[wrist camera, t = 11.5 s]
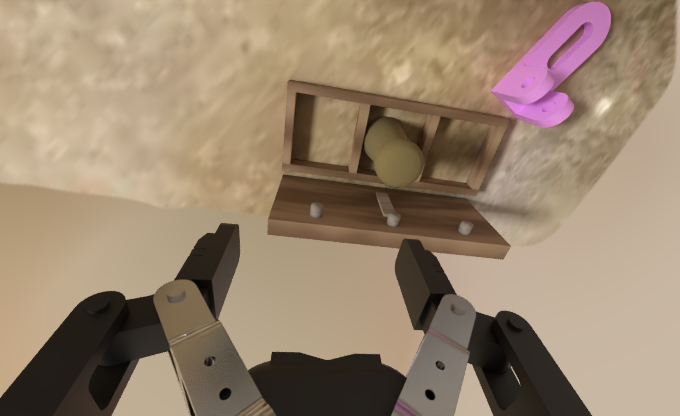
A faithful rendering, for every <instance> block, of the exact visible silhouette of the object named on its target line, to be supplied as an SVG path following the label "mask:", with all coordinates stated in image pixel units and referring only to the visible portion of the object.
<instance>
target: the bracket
mask: <svg viewBox="0 0 680 416" xmlns="http://www.w3.org/2000/svg"><path fill="white" fill-rule="evenodd" d="M582 24H583V25H584V33H583V35H582V36H581V38H580V39H579V40H578V41H577V42H576V43H575V44H574V45H573V46H572V47H571V48H570V49H569V50H568V51H567V52H566V53H565V54H564V55H562V56H561V57H560V58H559V59H558V60H557V61H556V62H555V63H554V64H553V65H552V66H551V67H550V68H548V66H547V62H548V59H549V58H550V56H551V55H552V54H553V53H554V52H555V51H556V50H557V49H558V48H559V47H560V46H561V45H562V44H563V43H564V42H565V41H566V40H567V39H568V38H569V37H570V36H571V35H572V34H573V33H574V32H575V31H576V30H577V29H578V28H579V27H580V26H581V25H582ZM610 24H611V14H610V11H609V9H608V7H607V6H606V5H605V4H603V3H601V2H589V3H583V4H579V5H577V6H574V7H573V8H571V9H570V10H568V11H567V12H566V13H565V14H564V15H563V16H562V17H561V18H560V19H559V20H558V21H557V22H556V23H555V24H554V25H553V26H552V28H551V29H550V30H549V31H548V32H547V33H546V34H545V35H544V36H543V37H542V38H541V39H540V40H539V41H538V42H537V43H536V44H535V45H534V46H533V47H532V48H531V49H530V51H529V52H528V53H527V54H526V55H525V56H524V57H523V58H522V59H521V60H520V61H519V62H518V63H517V64H516V65H515V66H514V67H513V68H512V69H511V70H510V71H509V73H508V74H507V75H506V76H505V77H504V78H503V79H502V80H501V81H500V82H499V83H498V84H497V85H496V86H495V87H494V88H493V89H492V90H491V92H492V93H493V94H494V95H495V96H496V97H497V98H498V99H499V100H500V101H501V103H502V104H503V105H504V106H505V107H506V108H507V109H508V110H509V111H510V112H511V114H512V115H513V116H514V117H515V118H516V119H519V120H522V121H525V122H527V123H530V124H533V125H536V126H539V127H542V128H548V127H552V126H555V125H557V124H559V123H561V122H562V121H564V120H565V119H566V118H567V117H569V115H570V114H571V113H572V112H573V110H574V103H573V102H572V101H571V100H570V98H569V97H568V96H567V94H565V93H560V92H555V91H553V90H554V89H555V88H556V87H557V86H558V85H559V84H561V83H562V82H563V81H564V80H565V79H566V78H567V77H568V76H569V75H570V74H571V73H572V72H573V71H574V70H575V69H576V68H577V67H578V66H579V65H581V64H582V63H583V62H584V61H585V60H586V59H587V58H588V57H589V56H590V55H591V54H592V53H593V52H594V51H595V50H596V49H597V48H598V47H599V46H600V45H601V44H602V42H603V41H604V39H605V38H606V36H607V34H608V31H609V28H610Z"/></svg>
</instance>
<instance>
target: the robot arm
mask: <svg viewBox="0 0 680 416" xmlns="http://www.w3.org/2000/svg"><path fill="white" fill-rule="evenodd" d="M239 257H240V239H239V225H238V224H227V223H221V224H220V225H219V227H218V229H217V231H216V233H215V234H214V233H207V234H206V235H204V236H203V237H201V238H200V239H199V240H198V241H197V243H196V245H195V246H194V249H193V250H192V251H191V253H190V256H189V257H188V258H187V260H186V261H185V263H184V265H183V266H182V268H181V270H180V271H179V273H178V275H177V277H176V278H175V280H174V281H171V282H169V283H166V284H164V285H163V286H161V287H160V288H159V289H158V290H157V291H156V293H155V294H153V295H150V296H146V297H140V298H135V299H130V300H126V299H125V296H124V295H123V294H122V293H120V292H116V291H106V292H101V293H97V294H95V295H92V296H90V297H88V298H86V299H85V300H83V301H81V302H80V303H79V304H78V305H77V306H76V307H75V308H74V309H73V311H72V312H71V313H70V314H69V316H68V317H67V318H66V319H65V320H64V321H63V323H62V324H61V325H60V327H59V328H58V329H57V330H56V331H55V332H54V334H53V335H52V336H51V337H50V338H49V340H48V341H47V342H46V343H45V344H44V346H43V347H42V348H41V349H40V350H39V352H38V353H37V354H36V355H35V357H34V358H33V359H32V360H31V362H30V363H29V364H28V365H27V366H26V368H25V369H24V370H23V371H22V372H21V373H20V375H19V376H18V377H17V378H16V380H15V381H14V382H13V383H12V384H11V386H10V387H9V388H8V389H7V391H6V392H5V393H4V394H3V395H2V397H1V398H0V416H111V415H112V413H113V411H114V409H115V407H116V405H117V403H118V401H119V399H120V397H121V395H122V393H123V391H124V389H125V387H126V385H127V383H128V381H129V379H130V377H131V375H132V373H133V371H134V369H135V367H136V365H137V363H138V361H139V359H140V358H143V357H147V356H151V355H155V354H159V353H163V352H167V351H168V354H169V357H170V360H171V362H172V365H173V368H174V371H175V374H176V377H177V379H178V382H179V385H180V387H181V390H182V394H183V397H184V400H185V403H186V406H187V409H188V412H189V415H190V416H454V413H455V410H456V406H457V402H458V398H459V394H460V390H461V386H462V382H463V378H464V374H465V370H466V366H467V363H470V364H472V365H473V368H474V370H475V372H476V375H477V377H478V379H479V382H480V384H481V387H482V389H483V392H484V394H485V396H486V399H487V401H488V404H489V406H490V408H491V411H492V413H493V416H592V415H591V413H590V412H589V411H588V409H587V408H586V406H585V405H584V404H583V402H582V400H581V399H580V397H579V396H578V395H577V393H576V391H575V390H574V389H573V387H572V386H571V384H570V383H569V381H568V380H567V378H566V377H565V375H564V374H563V373H562V371H561V370H560V368H559V367H558V365H557V364H556V362H555V361H554V359H553V358H552V356H551V355H550V353H549V352H548V351H547V349H546V347H545V346H544V345H543V343H542V342H541V340H540V339H539V337H538V336H537V334H536V333H535V331H534V330H533V329H532V327H531V326H530V324H529V323H528V322H527V321H526V320H525V319H523V318H522V317H521V316H519V315H517V314H515V313H513V312H510V311H500V312H499V313H498V314H497V315H496V317H495V318H494V317H491V316H488V315H484V314H481V313H479V312H476V311H475V309H474V307H473V306H472V305H471V303H469V302H468V301H467V300H466V299H464V298H463V297H460V296H458V295H457V294H456V293H455V291H454V289H453V287H452V285H451V283H450V281H449V280H448V278H447V276H446V274H445V273H444V270H443V269H442V267H441V265H440V263H439V261H438V259H437V257H435V256H434V255H433V254H432V253H431V252H430V251H429V250H425V249H424V247H423V245H422V243H421V241H420V240H418V239H406V238H404V239H403V241H402V243H401V246H400V249H399V252H398V255H397V259H396V262H395V274H396V277H397V280H398V283H399V286H400V289H401V292H402V295H403V298H404V301H405V304H406V307H407V310H408V313H409V316H410V319H411V322H412V326H413V328H414V330H423V331H424V334H425V336H424V337H423V340H422V342H421V344H420V346H419V348H418V351H417V353H416V355H415V358H414V360H413V362H412V364H411V366H410V369H409V371H408V373H407V375H406V377H405V376H404V375H402V374H401V373H400V372H398V371H397V370H395V369H393V368H392V367H390V366H387V365H385V364H382V363H381V358H380V354H352V355H348V356H344V357H339V358H335V359H332V360H324V359H320V358H317V357H314V356H310V355H307V354H303V353H300V352H298V353H297V352H272V355H271V361H268V362H264V363H262V364H259V365H257V366H255V367H253V368H251V369H249V370H247V368H246V367H245V365H244V363H243V361H242V359H241V358H240V356H239V354H238V352H237V350H236V348H235V347H234V345H233V343H232V341H231V339H230V338H229V336H228V334H227V332H226V330H225V328H224V327H223V325H222V323H221V322H220V321H219V320H218V317H219V315H220V312H221V309H222V306H223V303H224V301H225V298H226V295H227V293H228V290H229V287H230V284H231V281H232V278H233V276H234V273H235V270H236V268H237V265H238V262H239ZM511 366H512V368H513V370H514V372H515V373H516V375H517V377H518V379H519V382H520V384H519V382H518V380H517V379H516V377H515V375H514V373H513V371H512V369H511ZM520 385H521V386H520Z"/></svg>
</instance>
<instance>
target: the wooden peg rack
mask: <svg viewBox="0 0 680 416" xmlns="http://www.w3.org/2000/svg"><path fill="white" fill-rule="evenodd" d="M297 92H298V93H304V94H310V95H316V96H322V97H328V98H334V99H340V100H346V101H352V102H358V103H360V107H359V113H358V118H357V123H356V129H355V134H354V139H353V144H352V150H351V155H350V160H349V166H348V167H345V166H338V165H330V164H323V163H316V162H309V161H302V160H295V159H292V149H293V137H294V125H295V113H296V101H297ZM371 105H376V106H381V107H387V108H393V109H399V110H405V111H411V112H417V113H423V114H427V117H426V121H425V124H424V127H423V130H422V134H421V137H420V140H419V143H418V147H419V148H420V150H421V151H422V154H423V157H424V166H425V163H426V160H427V157H428V154H429V151H430V148H431V145H432V142H433V139H434V136H435V133H436V130H437V127H438V124H439V121H440V117H447V118H453V119H459V120H465V121H471V122H477V123H482V124H488V125H490V128H489V130H488V132H487V135H486V137H485V139H484V142H483V144H482V147H481V149H480V151H479V154H478V156H477V159H476V161H475V163H474V166H473V168H472V170H471V173H470V175H469V178H468V180H467V182H466V183H460V182H453V181H445V180H438V179H431V178H424V177H421V175H422V173H421V174H420V176H419V177H418V178H417V179H416V180H415V181H414V182H413V183H411V184H409V185H407V186H405V187H411V188H419V189H426V190H434V191H441V192H449V193H456V194H463V195H471V196H476V195H477V193H478V190H479V188H480V186H481V184H482V181H483V179H484V177H485V175H486V173H487V170H488V168H489V166H490V164H491V161H492V159H493V157H494V155H495V153H496V150H497V148H498V146H499V144H500V141H501V139H502V137H503V135H504V133H505V130H506V128H507V126H508V124H509V121H510V119H507V118H504V117H502V116H496V115H490V114H485V113H479V112H473V111H467V110H461V109H456V108H450V107H444V106H438V105H433V104H427V103H421V102H415V101H410V100H404V99H398V98H392V97H386V96H381V95H375V94H369V93H363V92H358V91H352V90H346V89H340V88H334V87H329V86H323V85H317V84H311V83H306V82H300V81H294V80H289V81H288V88H287V102H286V117H285V132H284V147H283V162H282V170H284V171H292V172H299V173H307V174H314V175H322V176H329V177H336V178H344V179H351V180H359V181H366V182H374V183H381V184H385V183H383V182H382V181H381V180H380V179H379V178H378V175H377V173H376V171H374V170H366V169H359V168H358V164H359V159H360V154H361V149H362V144H363V139H364V135H365V130H366V125H367V120H368V115H369V110H370V106H371ZM423 169H424V167H423ZM422 172H423V170H422ZM268 235H277V236H287V237H296V238H305V239H314V240H324V241H334V242H343V243H352V244H362V245H371V246H381V247H390V248H399V249H400V246H401V243H402V241H403V239H404V238H406V239H418V240H420V241H421V243H422V245H423V247H424V249H425V250H429V251H430V252H437V253H447V254H456V255H466V256H476V257H485V258H494V259H504V257H505V256H506V254H507V252H508V250H509V249H510V247H511V246H510V245H509V244H508V243H507V242H506V241H505V240H504V238H503V237H502V236H501V235H500V234H499V233H498V232H497V231H496V230H495V229H494V228H493V227H492V226H491V225H490V224H489V223H488V222H487V221H486V219H485V218H484V217H483V216H482V215H481V214H480V213H479V212H478V211H477V210H476V209H475V208H474V207H473V206H472V205H471V204H470V203H469V202H468V200H467V199H463V198H456V197H448V196H441V195H433V194H426V193H418V192H410V191H403V190H395V189H388V188H380V187H373V186H365V185H357V184H350V183H342V182H335V181H327V180H320V179H312V178H304V177H297V176H289V175H283V177H282V180H281V183H280V186H279V189H278V192H277V194H276V197H275V200H274V203H273V206H272V209H271V212H270V215H269V218H268Z"/></svg>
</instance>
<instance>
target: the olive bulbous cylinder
mask: <svg viewBox="0 0 680 416" xmlns="http://www.w3.org/2000/svg"><path fill="white" fill-rule="evenodd" d="M362 148H363V150H364V152H365V153H366V154H367V155H368V156H369V157H370V158H371V159H372V160H373V161H374V164H375V171H376V173H377V175H378V178H379V179H380V180H381V181H382V182H383V183H385V184H387V185H389V186H391V187H405V186H407V185H409V184H411V183H413V182H414V181H415V180H416V179H417V178H418V177H419V176H420V174H421V173H422V170H423V167H424V157H423V154H422V151H421V150H420V148H419V147H418V146H417V145H416V144H415V143H413V142H412V141H410V140H408V138H407V136H406V133H405V131H404V128H403V126H402V125H401V124H400V123H399V121H397V120H396V119H394V118H391V117H386V116H385V117H378V118H376V119H374V120H372V121H371V122H370V123H369V124H368V125H367V126H366V130H365V135H364V139H363V144H362Z"/></svg>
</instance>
